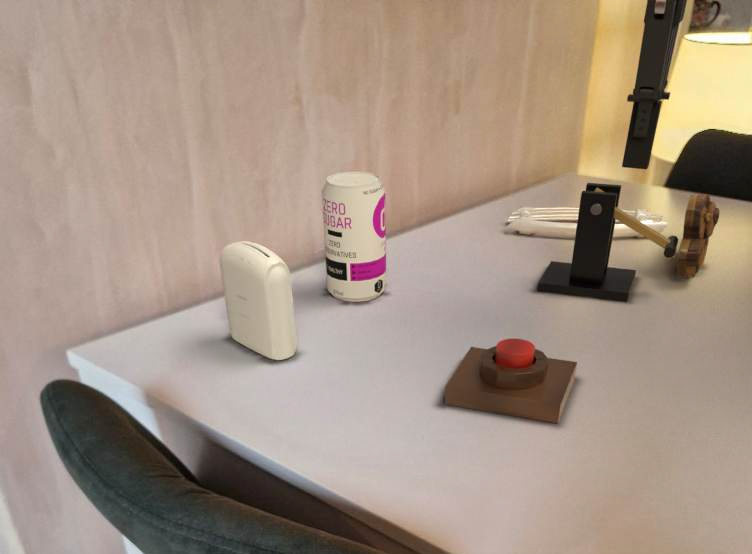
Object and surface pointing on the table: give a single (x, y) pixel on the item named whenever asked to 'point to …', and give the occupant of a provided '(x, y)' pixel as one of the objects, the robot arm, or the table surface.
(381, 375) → the table surface
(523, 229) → the white piece
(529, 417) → the button block
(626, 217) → the lever
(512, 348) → the button
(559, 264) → the bracket
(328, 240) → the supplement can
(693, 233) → the wooden carving
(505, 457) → the table surface
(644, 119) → the robot arm
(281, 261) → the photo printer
